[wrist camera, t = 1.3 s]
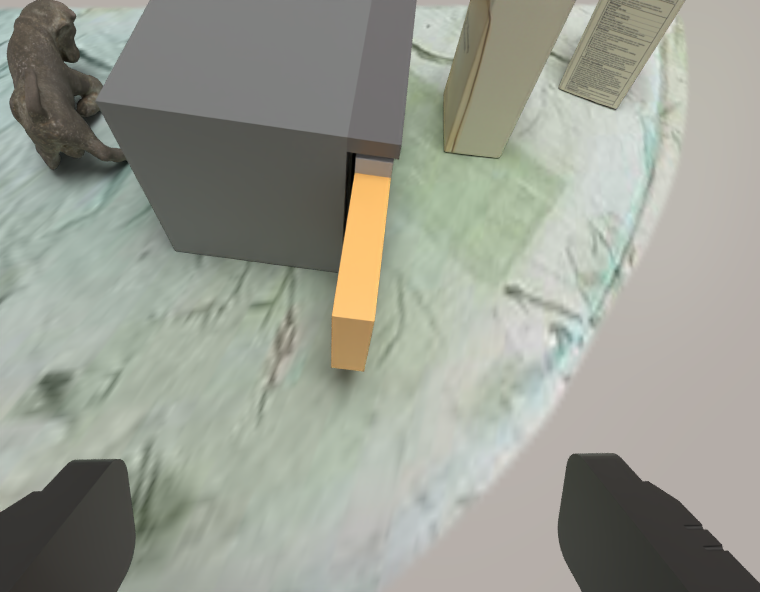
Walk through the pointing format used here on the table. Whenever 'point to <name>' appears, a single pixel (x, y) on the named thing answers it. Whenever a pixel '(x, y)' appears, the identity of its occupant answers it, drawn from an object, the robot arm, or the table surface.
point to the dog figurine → (53, 85)
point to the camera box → (259, 118)
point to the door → (360, 263)
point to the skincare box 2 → (617, 48)
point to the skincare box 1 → (497, 70)
